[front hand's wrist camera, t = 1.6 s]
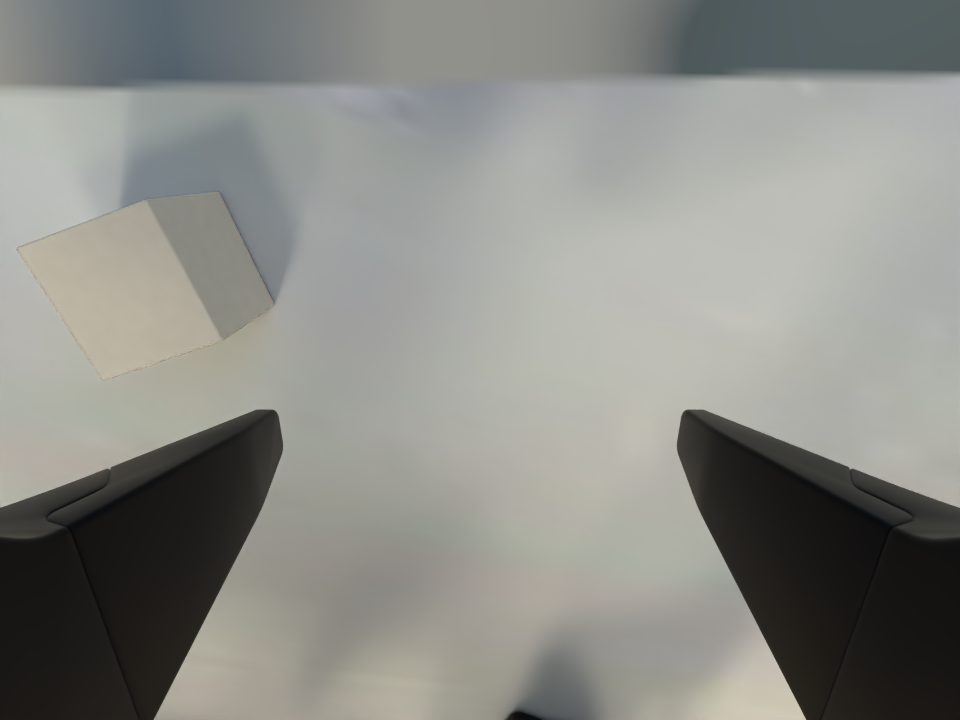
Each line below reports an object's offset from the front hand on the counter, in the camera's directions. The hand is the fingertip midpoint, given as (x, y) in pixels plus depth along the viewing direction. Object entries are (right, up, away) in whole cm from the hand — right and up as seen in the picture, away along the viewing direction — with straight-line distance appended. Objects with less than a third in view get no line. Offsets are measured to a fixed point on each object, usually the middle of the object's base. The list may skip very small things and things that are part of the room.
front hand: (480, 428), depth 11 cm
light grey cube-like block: (-11, +5, +9) cm, 15 cm away
